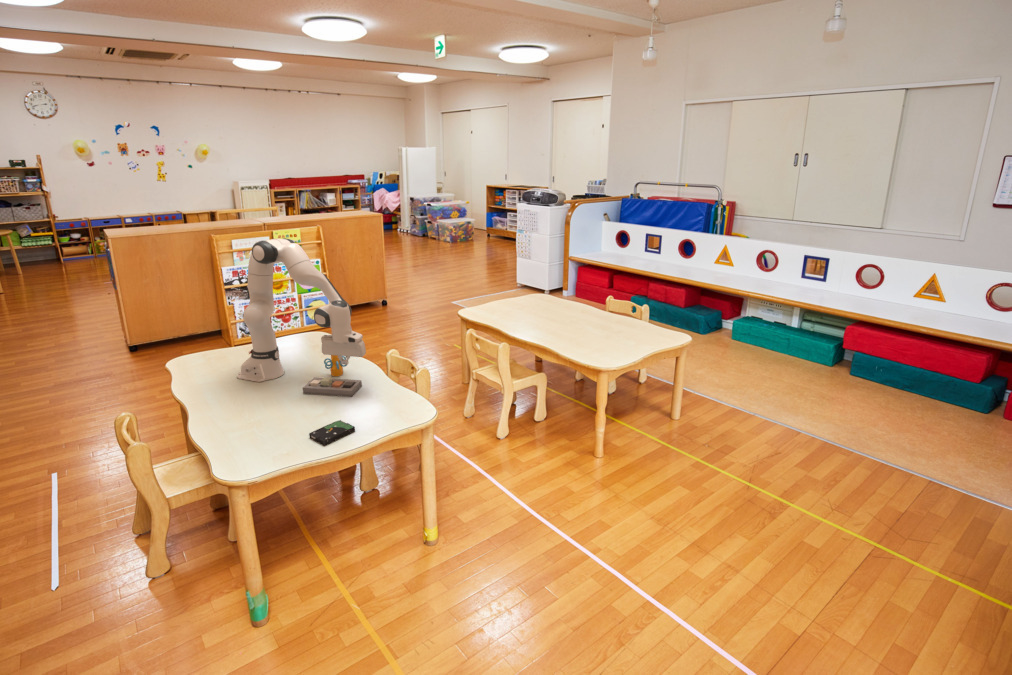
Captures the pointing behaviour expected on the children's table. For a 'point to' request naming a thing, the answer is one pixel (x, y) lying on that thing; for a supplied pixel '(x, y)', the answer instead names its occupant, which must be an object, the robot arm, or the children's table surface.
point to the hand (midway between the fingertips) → (344, 364)
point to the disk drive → (332, 432)
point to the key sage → (326, 381)
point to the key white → (315, 382)
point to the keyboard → (332, 388)
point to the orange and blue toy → (335, 365)
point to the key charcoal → (348, 384)
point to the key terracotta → (337, 384)
